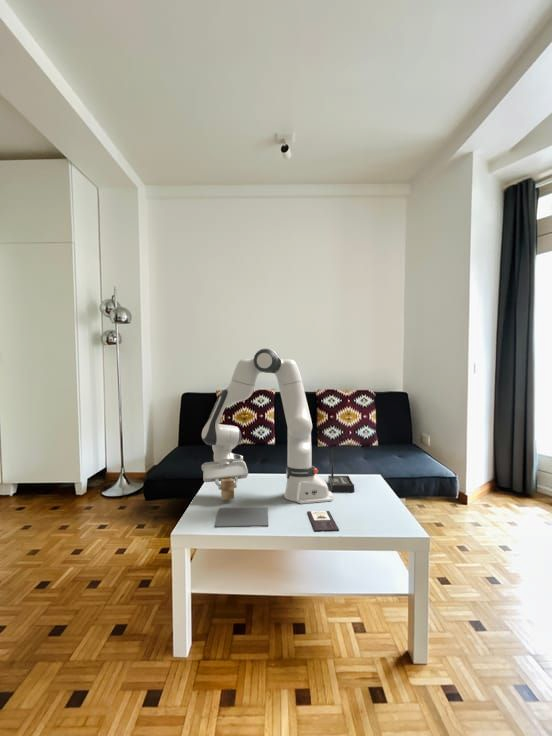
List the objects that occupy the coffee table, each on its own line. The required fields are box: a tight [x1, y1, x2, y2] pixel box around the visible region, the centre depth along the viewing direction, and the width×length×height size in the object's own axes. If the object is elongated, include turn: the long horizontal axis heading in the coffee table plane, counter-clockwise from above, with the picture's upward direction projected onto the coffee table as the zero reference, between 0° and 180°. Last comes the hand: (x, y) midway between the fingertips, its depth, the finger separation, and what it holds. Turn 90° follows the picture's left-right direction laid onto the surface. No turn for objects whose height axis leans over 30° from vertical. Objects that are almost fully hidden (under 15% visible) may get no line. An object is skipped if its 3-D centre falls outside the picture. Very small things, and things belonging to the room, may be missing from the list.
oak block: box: [220, 478, 235, 501], centre depth 171 cm, size 5×4×8 cm
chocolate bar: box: [306, 510, 340, 533], centre depth 149 cm, size 9×1×18 cm
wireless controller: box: [327, 448, 355, 493], centre depth 193 cm, size 20×14×17 cm
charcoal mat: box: [214, 506, 269, 528], centre depth 153 cm, size 20×18×1 cm
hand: (227, 488), depth 170 cm, fingers closed on oak block, 5 cm apart
